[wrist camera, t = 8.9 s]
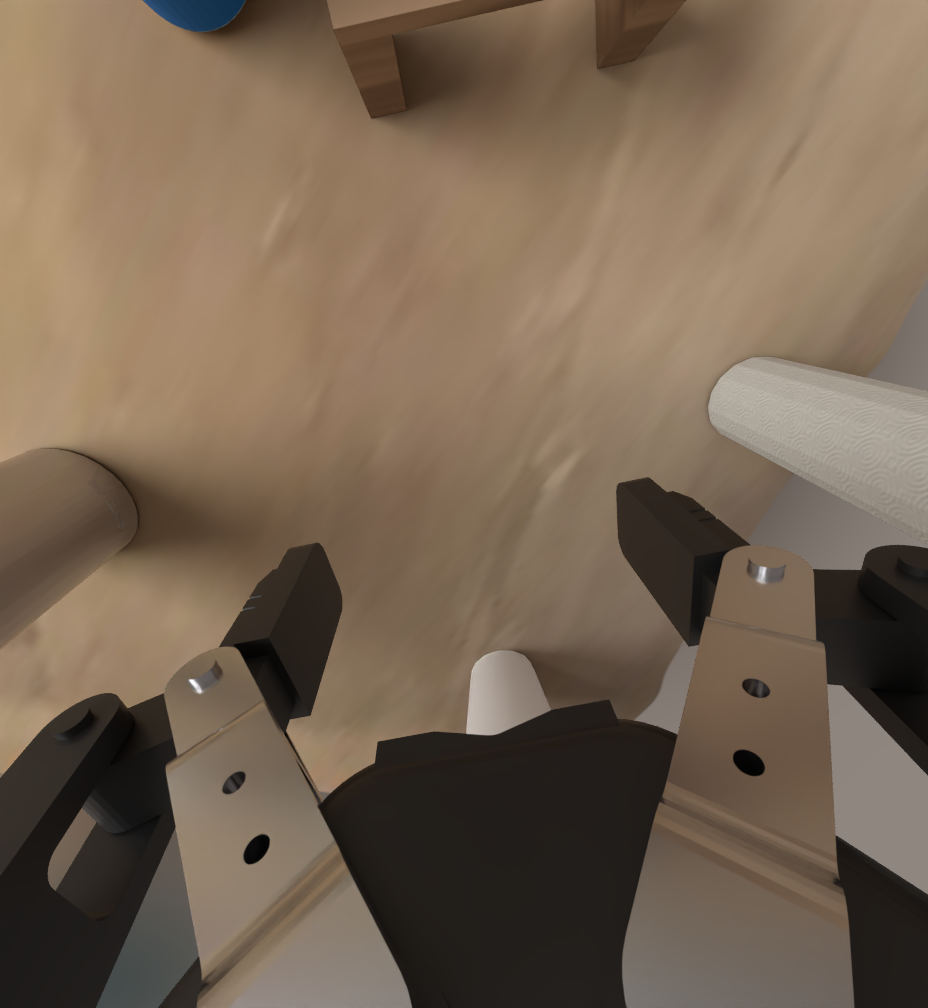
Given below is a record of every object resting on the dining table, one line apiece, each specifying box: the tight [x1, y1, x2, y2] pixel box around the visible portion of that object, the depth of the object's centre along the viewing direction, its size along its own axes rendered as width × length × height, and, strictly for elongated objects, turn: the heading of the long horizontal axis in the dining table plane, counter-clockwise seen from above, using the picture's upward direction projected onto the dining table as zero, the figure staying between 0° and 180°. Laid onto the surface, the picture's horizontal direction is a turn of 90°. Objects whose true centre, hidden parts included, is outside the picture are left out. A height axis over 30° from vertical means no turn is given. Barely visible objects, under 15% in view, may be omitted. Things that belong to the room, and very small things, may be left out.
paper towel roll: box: [708, 356, 928, 545], centre depth 22 cm, size 7×6×21 cm
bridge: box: [327, 0, 686, 118], centre depth 18 cm, size 3×14×9 cm, turn 100°
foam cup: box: [466, 650, 551, 735], centre depth 38 cm, size 10×9×13 cm
